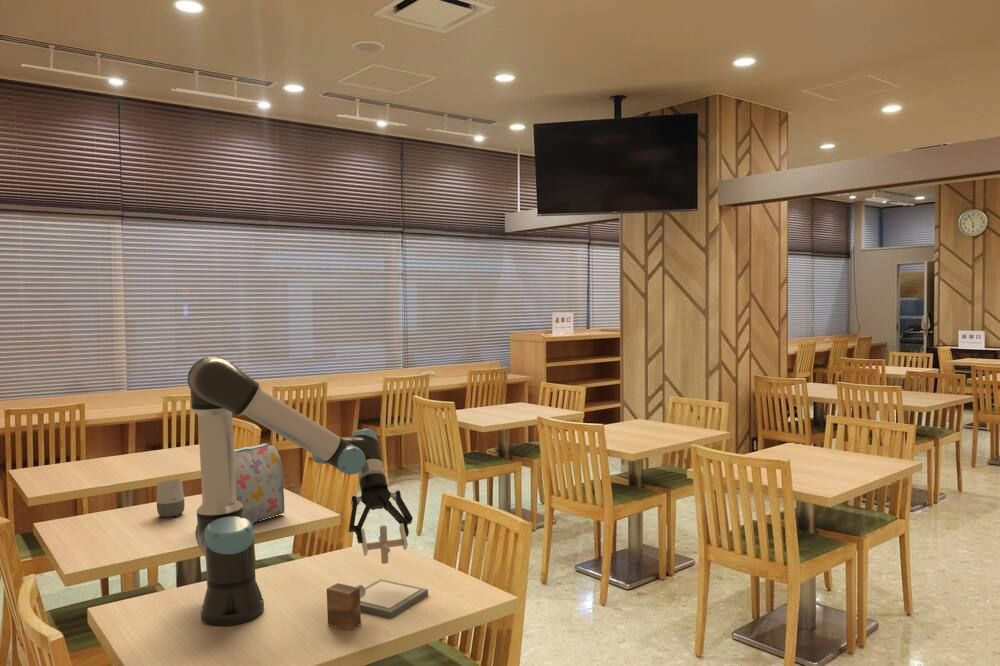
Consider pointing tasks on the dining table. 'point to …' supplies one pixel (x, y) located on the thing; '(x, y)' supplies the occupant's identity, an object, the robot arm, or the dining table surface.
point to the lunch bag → (259, 482)
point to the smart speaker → (170, 498)
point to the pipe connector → (384, 544)
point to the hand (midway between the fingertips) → (386, 550)
